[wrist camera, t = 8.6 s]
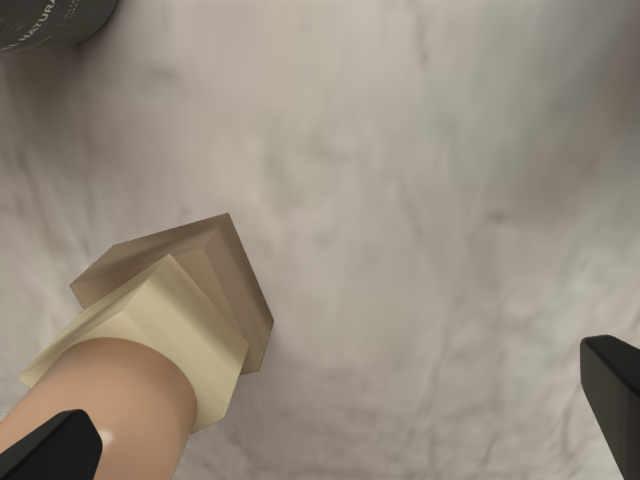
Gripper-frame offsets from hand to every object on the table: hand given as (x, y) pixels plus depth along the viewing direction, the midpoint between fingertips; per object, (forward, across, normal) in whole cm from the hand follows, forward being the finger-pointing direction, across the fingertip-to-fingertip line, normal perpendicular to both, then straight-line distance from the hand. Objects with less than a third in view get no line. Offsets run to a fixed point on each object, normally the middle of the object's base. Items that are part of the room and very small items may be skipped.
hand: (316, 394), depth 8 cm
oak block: (+9, +8, +4) cm, 13 cm away
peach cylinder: (+5, +8, +4) cm, 10 cm away
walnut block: (+13, +8, +4) cm, 16 cm away
